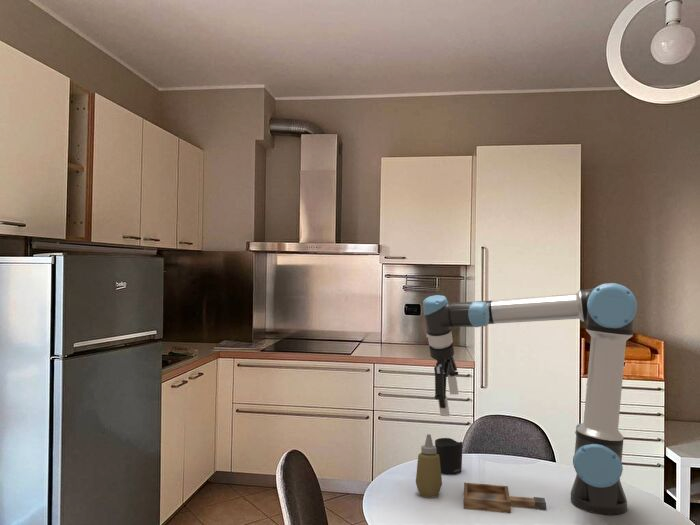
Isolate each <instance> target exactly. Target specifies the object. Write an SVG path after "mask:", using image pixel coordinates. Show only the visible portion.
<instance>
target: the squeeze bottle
mask: <svg viewBox="0 0 700 525" xmlns="http://www.w3.org/2000/svg"><path fill="white" fill-rule="evenodd" d="M420 448H421V451H420V453H418V457H417V463H416V464H417V465H416V476H415V485H416V488H417V491H418V494H419V495H420V496H421V497H424V498H436V497H437V498H438V496H439V495H440V492H441V489H442V485H443V480H442V479H443V477H442V473H441V467H440V457H439V455H438V454H437V453H436V446H435V445H434V444H433V440H432V435H431V434H428V433H427V434H426V438H425V442H424V444H422V445H421V446H420Z"/></svg>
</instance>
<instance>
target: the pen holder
mask: <svg viewBox="0 0 700 525" xmlns="http://www.w3.org/2000/svg"><path fill="white" fill-rule="evenodd" d="M463 444H464V443H463V441H459V442H458V441H456V440H455V439H453V438H450V437H440V438H437V439H435V441H434V446H436V453H437V454H438V455H439V457H440V467H441V474H442V473H444V475H448V474H454V475H458V474H457V473H459V474H461V472H462V470H463V468H462V467H463Z"/></svg>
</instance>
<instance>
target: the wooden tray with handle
mask: <svg viewBox="0 0 700 525" xmlns="http://www.w3.org/2000/svg"><path fill="white" fill-rule="evenodd" d="M513 507H514V508H524V509H533V510H538V509H539V510H540V511H546V510H547V502H546V498H545V497H537V496H533V497H524V496H523V497H522V496H511V495H510V490H509V486H508V485H502V484H501V485H500V484H489V483H488V484H485V483H477V482H476V483H475V482H464V481H463V509H464V510H474V511H483V510H484V512H494V513H504V512H507V513H506V514H511V513H512V510H511V509H512V508H513ZM539 510H538V511H539Z"/></svg>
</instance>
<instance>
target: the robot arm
mask: <svg viewBox="0 0 700 525" xmlns="http://www.w3.org/2000/svg"><path fill="white" fill-rule="evenodd" d="M422 306H423V317H424V322H425V326H426V327H425V329H426V334H425V335H426V336H425V337H426V338H427V339H428V340H427V341H428V345H429V346H428V348H429V354H430V357H431V358H432V359H433V360H434V361H436V364H435V366H434V392H435V393H434V399H435V400H437V402H438V406H439V407H438V408H439V414H440V417H450V407H449V402H448V396H446V394H447V381H448V389H449V390H448V391H449V395H459V388H458V381H457V376H459V371H458V367H457V363H456V362H455V359H454V355H455V349H454V343H453V342H454V339H453V335H452V333H453V332H452V328H480V327H481V328H482V327H486V326H488V325H493V324H496V325H497V324H511V323H526V322H527V323H530V322H546V321H547V322H549V321H564V320H565V321H566V320H567V321H568V320H580V321H581V322H583V323H585V324H586V326H585V331H586V332H587V333H588V334H589V336H590V345H589V357H588V358H589V359H588V368H587V369H588V370H587V381H586V391H585V392H586V393H585V400H584V402H585V403H584V412H583V413H584V414H583V422H581V423H578V424H576V427H575V432H574V434H575V446H574V455H573V457H572V465H573V468H574V471H575V473H576V474H575V475H576V476H575V477H574V478H575V479H574V482H573V485H572V487H571V490H570V503H572V505H574V506H575V507H577V508H579V509H580V510H583V511H586V512H590V513H593V514H594V513H595V514H600V515H609V516H610V515H615V516H616V515H620V514H625V513H626V512H627V511H628V499H627V497H626V494H625V491H624V489H623V486H622V483H621V477H622V474H623V470H624V466H623V462H622V460H623V451H624V449H623V448H624V440H625V439H624V435H623V434H622V433H621V432H620V431H619V424H620V423H619V422H620V410H621V400H622V390H623V389H622V388H623V380H624V379H623V377H624V367H625V357H626V356H625V354H626V344H627V341H629V339H631V338H632V337H633V336H634V326H635V316H636V314H637V312H638V301H637V298H636V297H635V294H634V293H633V292H632V291H631V289H629V288H628V287H626V286H625V285H623V284H620V283H615V282H610V283H609V282H605V283H602V284H600V285H598V286H596V287H592V288H588V289H579V290H578V291H577V292H576V293H570V294H569V293H568V294H556V295H544V296H543V295H541V296H529V297H517V298H506V299H505V298H504V299H493V300H478V301H477V300H475V301H462V302H449V301H448V299H447V297H446V296H445V295H440V294H437V295H436V294H435V295H430V296H428V297H426V298H425V299H424V300H423V301H422Z"/></svg>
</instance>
